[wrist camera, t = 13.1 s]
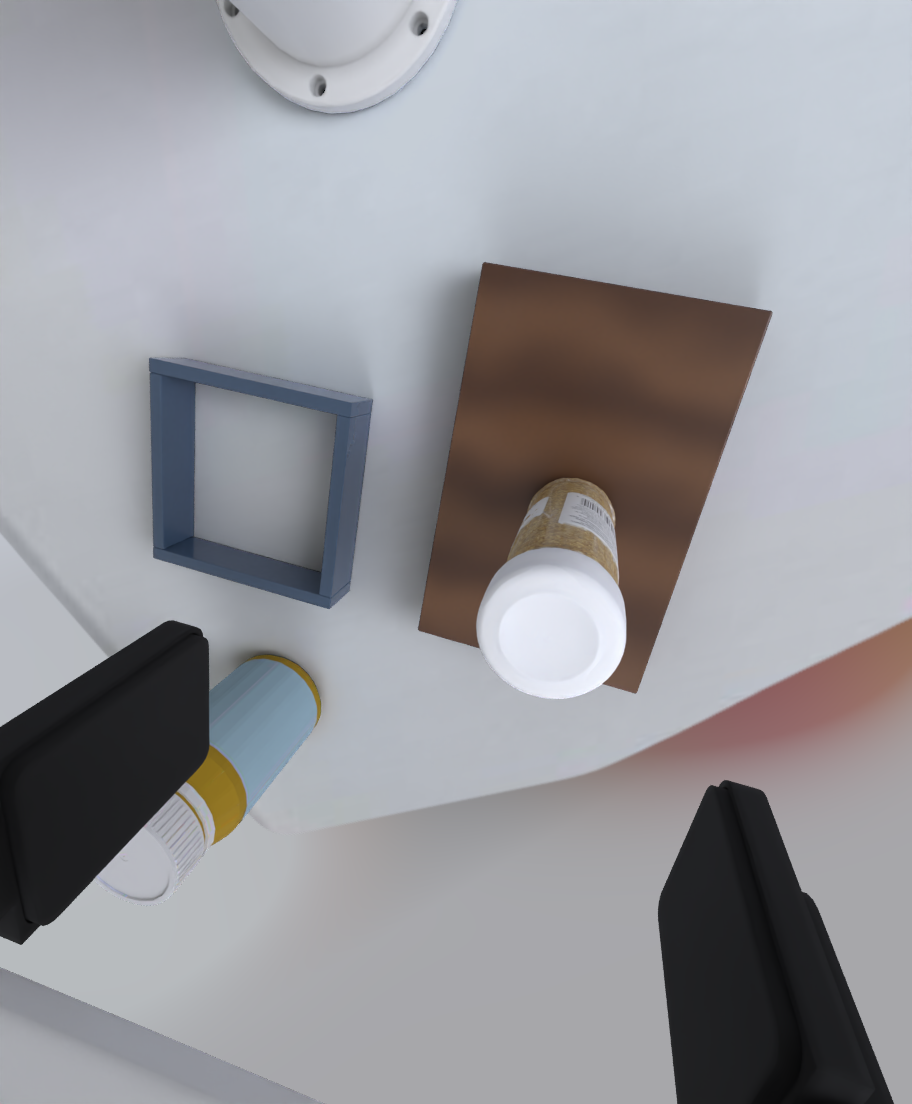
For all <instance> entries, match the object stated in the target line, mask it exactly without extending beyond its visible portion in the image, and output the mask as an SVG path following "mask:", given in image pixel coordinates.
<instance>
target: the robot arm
mask: <svg viewBox="0 0 912 1104" xmlns="http://www.w3.org/2000/svg"><path fill="white" fill-rule="evenodd" d="M216 1H217V4H218V7H219V10H220V14H221V17H222V20H223V23H224V25H225V26H226V28H227V30H228V32H229V34H230V36H231V38H232V40H233V42H234V44H235V46H236V48H237V50H238V51H239V52H240V54H241V55H242V56H243V58H244V59H245V61H246V62H247V63H248V65H249V66H250V67H251V69H252V70H253V71H254V72H255V73H256V74H257V75H259V76H260V77H261V78H262V79H263V80H264V81H265V82H266V83H267V84H268V85H269V86H270V87H272V88H273V89H274V90H276V91H277V92H278V93H280V94H281V95H282V96H284V97H285V98H286V99H288V100H289V101H292V102H294V103H296V104H298V105H300V106H302V107H305V108H307V109H309V110H314V111H320V112H325V113H330V114H331V113H349V112H355V111H358V110H361V109H365V108H368V107H371V106H374V105H376V104H378V103H380V102H381V101H383V100H385V99H386V98H388V97H390V96H392V95H393V94H395V93H396V92H398V91H399V90H400V89H401V88H402V87H403V86H404V85H405V84H407V83H408V82H409V81H410V80H411V79H412V78H413V77H414V76H416V74H417V73H418V72H419V71H420V69H421V68H422V67H423V65H424V64H425V63H426V62H427V60H428V59H429V58H430V56H431V55H432V54H433V53H434V51H435V49H436V47H437V45H438V44H439V42H440V40H441V38H442V36H443V34H444V33H445V31H446V29H447V27H448V25H449V23H450V20H451V17H452V14H453V12H454V9H455V6H456V4H457V1H458V0H216ZM424 28H427V30H426V32H425V33H424V34H423V35H420V33H421V31H422V30H423V29H424ZM325 88H326V89H325ZM324 89H325V92H324V93H323V95H322V92H323V90H324ZM209 746H210V741H209V644H208V640H207V639H206V638H204V637H203V633H202V631H201V629H199V628H197V627H194V626H191V625H187V624H184V623H180V622H177V621H167V622H164V623H163V624H161V625H160V626H158V627H156V628H155V629H153V630H152V631H150V632H149V633H147V634H145V635H144V636H142V637H141V638H139V639H138V640H136V641H134V642H133V643H131V644H130V645H128V646H127V647H125V648H123V649H122V650H120V651H119V652H117V653H116V654H114V655H112V656H111V657H109V658H108V659H106V660H105V661H103V662H102V663H100V664H98V665H97V666H95V667H94V668H92V669H91V670H89V671H87V672H86V673H84V674H83V675H81V676H80V677H78V678H76V679H75V680H73V681H72V682H70V683H69V684H67V685H65V686H64V687H62V688H61V689H59V690H58V691H56V692H54V693H53V694H51V695H50V696H48V697H47V698H45V699H44V700H42V701H40V702H39V703H37V704H36V705H34V706H32V707H31V708H29V709H28V710H26V711H25V712H23V713H22V714H20V715H18V716H17V717H15V718H14V719H12V720H10V721H9V722H7V723H6V724H4V725H3V726H1V727H0V936H1V937H3V938H6V939H8V940H11V941H13V942H16V943H18V944H20V945H22V944H23V943H24V942H25V941H26V940H27V939H28V938H29V937H30V936H31V935H32V934H33V932H34V931H35V930H36V929H37V928H38V927H39V926H40V925H42V926H44V925H48V924H50V923H51V922H53V921H54V920H55V919H56V918H57V917H58V916H59V915H60V914H61V913H62V912H63V911H64V910H65V909H66V908H67V907H68V906H69V905H70V904H71V903H72V902H73V901H74V899H75V898H76V897H77V896H78V895H79V894H80V893H81V892H82V891H83V890H84V889H85V888H86V887H87V886H88V885H89V884H90V882H92V881H93V880H94V878H95V877H96V876H97V875H98V874H99V873H100V872H101V871H102V870H103V869H104V868H105V867H106V866H107V865H108V864H109V863H110V862H111V860H112V859H113V858H114V857H115V856H116V855H117V854H118V853H119V852H120V851H121V850H122V849H123V848H124V847H125V846H126V845H127V844H128V843H129V841H130V840H131V839H132V838H133V837H134V836H135V835H136V834H137V833H138V832H139V831H140V830H141V829H142V828H143V827H144V826H145V825H146V824H147V822H148V821H149V820H150V819H151V818H152V817H153V816H154V815H155V814H156V813H157V812H158V811H159V810H160V809H161V808H162V807H163V806H164V805H165V803H166V802H167V801H168V800H169V799H170V798H171V797H172V796H173V795H174V794H175V793H176V792H177V791H178V790H179V789H180V788H181V787H182V785H183V784H184V783H185V782H186V781H187V780H188V779H189V778H190V777H191V776H192V775H193V774H194V773H195V772H196V771H197V770H198V769H199V768H200V766H201V765H202V764H203V762H204V761H205V759H206V757H207V755H208V751H209ZM658 922H659V931H660V941H661V950H662V960H663V970H664V980H665V989H666V998H667V1008H668V1018H669V1028H670V1036H671V1047H672V1056H673V1066H674V1076H675V1085H676V1094H677V1104H894V1103H893V1100H892V1097H891V1095H890V1092H889V1090H888V1087H887V1085H886V1082H885V1080H884V1077H883V1074H882V1072H881V1069H880V1067H879V1064H878V1062H877V1059H876V1056H875V1054H874V1051H873V1049H872V1046H871V1044H870V1041H869V1038H868V1036H867V1033H866V1031H865V1028H864V1026H863V1023H862V1020H861V1018H860V1016H859V1013H858V1010H857V1008H856V1005H855V1002H854V1000H853V998H852V995H851V992H850V990H849V987H848V985H847V982H846V979H845V977H844V975H843V972H842V969H841V967H840V964H839V961H838V959H837V957H836V954H835V951H834V949H833V946H832V944H831V941H830V938H829V936H828V933H827V931H826V928H825V926H824V923H823V920H822V918H821V915H820V913H819V910H818V908H817V907H816V905H815V903H814V901H813V899H812V898H811V897H810V896H809V895H808V894H807V893H804V892H802V891H801V888H800V886H799V883H798V880H797V878H796V875H795V872H794V870H793V867H792V864H791V862H790V859H789V856H788V853H787V851H786V848H785V845H784V843H783V840H782V837H781V835H780V832H779V829H778V827H777V824H776V821H775V819H774V816H773V813H772V811H771V808H770V805H769V803H768V800H767V797H766V795H765V794H764V792H763V791H761V790H759V789H755V788H752V787H749V786H745V785H742V784H738V783H735V782H731V781H728V780H724V781H723V782H722V783H721V784H720V786H719V787H716V786H713V785H711V786H709V787H708V789H707V790H706V793H705V795H704V797H703V799H702V801H701V804H700V806H699V808H698V810H697V813H696V815H695V817H694V820H693V822H692V824H691V826H690V829H689V831H688V833H687V836H686V838H685V840H684V842H683V845H682V847H681V849H680V852H679V854H678V856H677V858H676V861H675V863H674V865H673V867H672V870H671V872H670V875H669V877H668V879H667V881H666V883H665V886H664V888H663V890H662V893H661V896H660V900H659V906H658ZM0 1104H324V1103H322V1102H320V1101H317V1100H315V1099H313V1098H310V1097H308V1096H306V1095H303V1094H301V1093H298V1092H296V1091H294V1090H292V1089H289V1088H287V1087H284V1086H282V1085H280V1084H277V1083H275V1082H273V1081H270V1080H268V1079H265V1078H263V1077H261V1076H259V1075H256V1074H254V1073H252V1072H249V1071H247V1070H244V1069H242V1068H240V1067H237V1066H235V1065H233V1064H230V1063H228V1062H225V1061H223V1060H221V1059H218V1058H216V1057H214V1056H211V1055H209V1054H207V1053H204V1052H202V1051H199V1050H197V1049H195V1048H192V1047H190V1046H187V1045H185V1044H183V1043H180V1042H178V1041H176V1040H173V1039H171V1038H169V1037H166V1036H164V1035H161V1034H159V1033H157V1032H154V1031H152V1030H150V1029H147V1028H145V1027H142V1026H140V1025H138V1024H135V1023H133V1022H130V1021H128V1020H126V1019H123V1018H121V1017H119V1016H116V1015H114V1014H111V1013H109V1012H107V1011H104V1010H102V1009H99V1008H97V1007H95V1006H92V1005H90V1004H87V1003H85V1002H82V1001H80V1000H78V999H75V998H73V997H71V996H68V995H65V994H63V993H61V992H58V991H56V990H54V989H51V988H49V987H46V986H44V985H42V984H39V983H37V982H34V981H32V980H30V979H27V978H25V977H22V976H20V975H17V974H15V973H13V972H10V971H8V970H5V969H3V968H1V967H0Z"/></svg>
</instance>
